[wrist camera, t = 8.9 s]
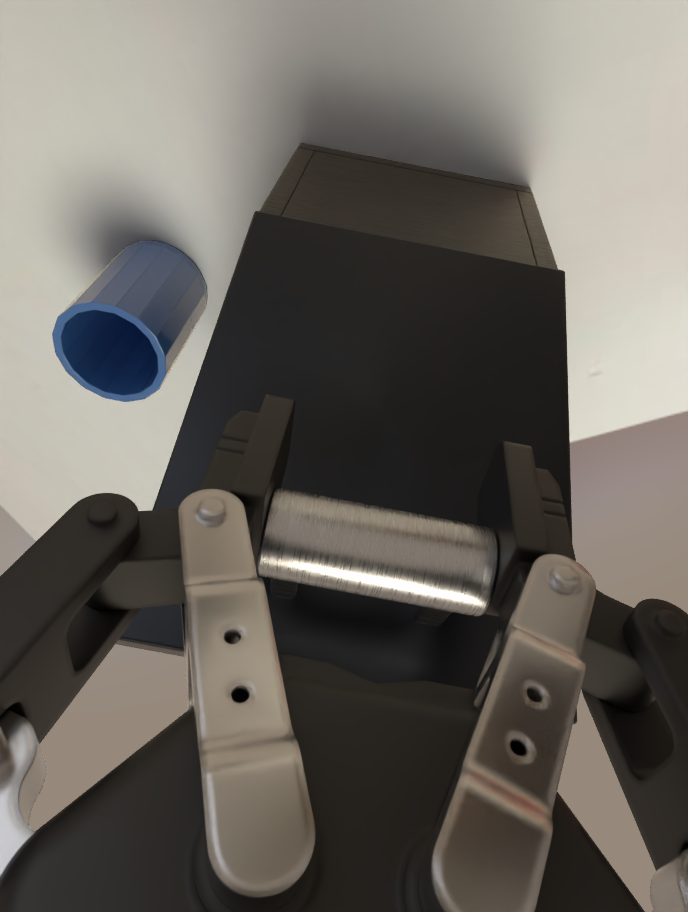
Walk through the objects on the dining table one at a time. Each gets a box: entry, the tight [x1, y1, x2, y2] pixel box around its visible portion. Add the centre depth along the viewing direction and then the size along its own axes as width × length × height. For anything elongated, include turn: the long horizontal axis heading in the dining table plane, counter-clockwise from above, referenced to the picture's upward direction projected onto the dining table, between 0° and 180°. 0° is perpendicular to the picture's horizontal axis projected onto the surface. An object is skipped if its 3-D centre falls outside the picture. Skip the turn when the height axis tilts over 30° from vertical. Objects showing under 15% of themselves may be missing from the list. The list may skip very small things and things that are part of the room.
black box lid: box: [116, 211, 577, 724], centre depth 19 cm, size 17×12×5 cm
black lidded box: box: [259, 143, 558, 270], centre depth 34 cm, size 16×12×10 cm
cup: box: [52, 241, 207, 402], centre depth 36 cm, size 6×6×8 cm
